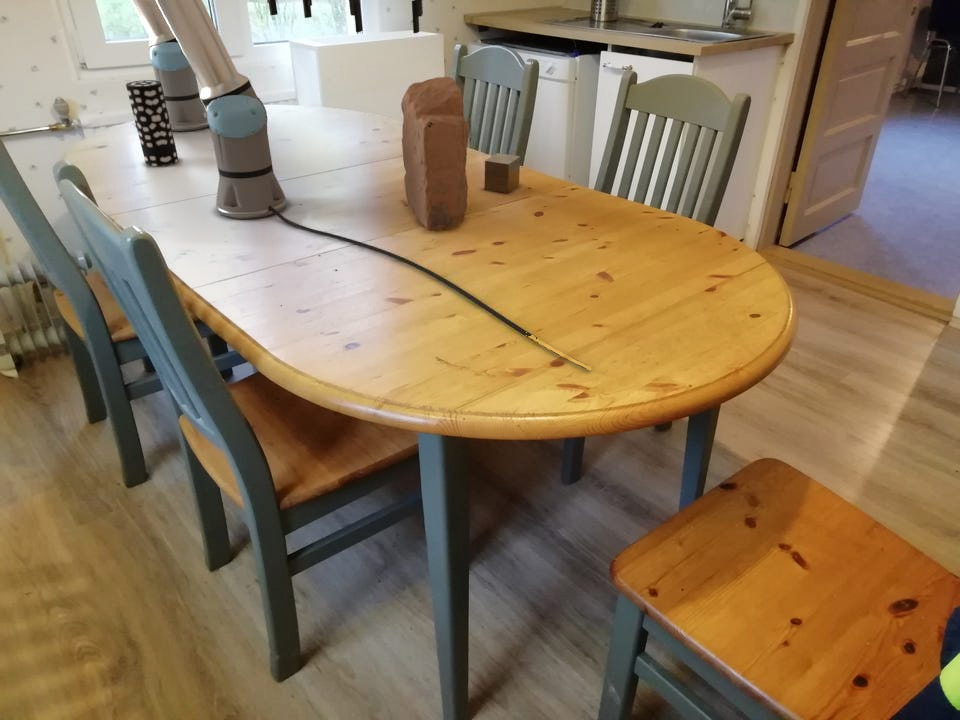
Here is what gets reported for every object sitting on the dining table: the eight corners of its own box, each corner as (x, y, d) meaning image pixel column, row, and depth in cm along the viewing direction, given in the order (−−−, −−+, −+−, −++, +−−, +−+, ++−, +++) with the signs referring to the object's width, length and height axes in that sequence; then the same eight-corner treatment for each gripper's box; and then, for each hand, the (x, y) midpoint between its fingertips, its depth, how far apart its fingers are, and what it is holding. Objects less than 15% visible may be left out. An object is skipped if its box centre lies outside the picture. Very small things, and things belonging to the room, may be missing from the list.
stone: (478, 228, 148) (477, 89, 134) (427, 234, 145) (421, 93, 131) (450, 199, 166) (446, 74, 151) (404, 203, 163) (396, 76, 148)
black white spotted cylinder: (184, 157, 190) (167, 80, 179) (169, 166, 183) (151, 87, 172) (155, 156, 190) (136, 79, 179) (139, 165, 183) (119, 86, 172)
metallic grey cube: (519, 185, 174) (520, 156, 170) (507, 193, 168) (508, 164, 164) (496, 181, 176) (496, 152, 172) (484, 189, 170) (484, 160, 166)
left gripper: (322, -61, 209) (329, 17, 221) (257, -62, 218) (267, 12, 229) (307, -60, 203) (315, 19, 215) (241, -62, 212) (252, 15, 224)
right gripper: (440, -78, 149) (444, 30, 160) (330, -77, 152) (341, 28, 164) (433, -78, 142) (437, 35, 154) (318, -77, 146) (330, 33, 157)
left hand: (291, 16), depth 222 cm, fingers open, 13 cm apart
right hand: (387, 32), depth 159 cm, fingers open, 13 cm apart
